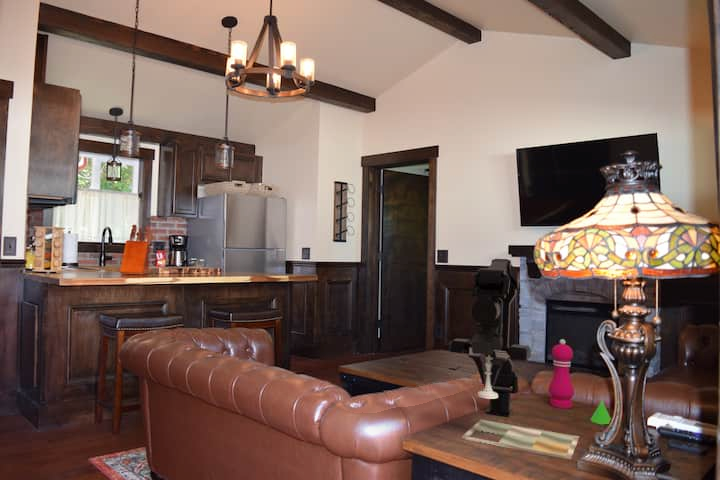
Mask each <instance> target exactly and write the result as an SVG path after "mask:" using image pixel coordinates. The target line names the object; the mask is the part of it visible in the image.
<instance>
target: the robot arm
mask: <svg viewBox="0 0 720 480" xmlns="http://www.w3.org/2000/svg"><path fill="white" fill-rule="evenodd" d="M519 274H520V272H519V270H518V269H517V268H516V267H515V266H513V265H512V261H511V259H507V258H494V259H492V260H491V263H490V265H489V266H488V267H487V268H486V267H483V268H482V267H481V268H478V270H477V272H475V275H474V280H473V287H472V295H471V296H472V297H478V300H477V301H475V302H474V304H473V305H472V307H471V316H472V318H473V319H474V320H475V321H476V322H477V325H476V330H475V333H474V335H473V336H472V337H471V339H465V338H455V339H452V340H451V341H450V342H449V344H448V351H449V352H450V353H456V354H457V353H458V354H462V353H463V352H464V351H469V354H468V355H467V356H468V358H471V359H472V360H473V361H474V363H475V365H476V367H477V368H476V369H477V370H478V374H479V377H480V380H481V382H482V383H481V384H482V385H483V389H484V388H485V383H486V376H487V374H484V372H486V371H487V370H486V366H485V362H487V359H485V358H486V357H487V356H488V355H490V358H493V360H490V362H492V363H493V366H492V369H491V372H492V374H491V387H492V389H493V391H494V392H496V393H497V394H498V398H496V399H489V403H488V404H489V405H488V406H489V407H488V408H487V409H486V410H485V414H491V415H496V416H497V415H498V416H504V417H510V416H511V415H512V414H513V412H514V409H511V394H513V395H514V394H518V392H519V379H518V376H517V374H516V371H514V364H513V362H512V360H515V361H528V360H529V359H530V358H531V356H532V355H531V353H532V351H531V348H530V346H529V345H525V344H524V345H523V344H512V345H511V346H510V325H511V324H510V322H511V321H510V320H511V304H512V302H513V301H514V300H515V298H516V297H517V291H518V290H519V289H520V275H519ZM511 359H512V360H511Z"/></svg>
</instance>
